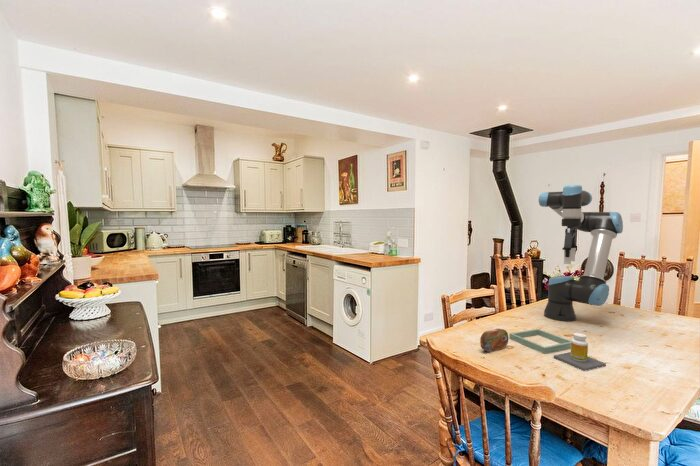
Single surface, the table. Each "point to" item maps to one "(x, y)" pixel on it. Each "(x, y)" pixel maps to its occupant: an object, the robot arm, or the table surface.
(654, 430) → the table surface
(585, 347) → the supplement bottle
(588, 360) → the coaster
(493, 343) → the brown mottled stone
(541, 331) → the green square frame
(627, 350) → the table surface
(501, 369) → the table surface
